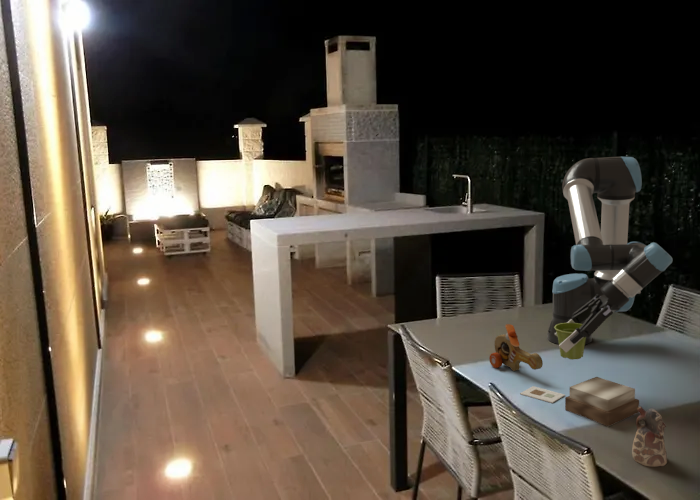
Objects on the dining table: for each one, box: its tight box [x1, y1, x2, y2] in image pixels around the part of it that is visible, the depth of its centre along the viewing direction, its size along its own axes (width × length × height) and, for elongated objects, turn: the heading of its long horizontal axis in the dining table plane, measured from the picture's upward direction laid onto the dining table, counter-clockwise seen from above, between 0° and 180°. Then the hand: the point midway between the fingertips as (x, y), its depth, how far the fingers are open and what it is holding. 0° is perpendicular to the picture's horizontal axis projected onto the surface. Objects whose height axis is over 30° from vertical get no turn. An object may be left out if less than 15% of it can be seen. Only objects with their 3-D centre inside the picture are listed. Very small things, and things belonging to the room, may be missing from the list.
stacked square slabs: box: [564, 376, 640, 427], centre depth 169 cm, size 13×13×6 cm
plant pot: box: [554, 323, 586, 360], centre depth 183 cm, size 9×9×9 cm
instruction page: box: [520, 385, 566, 404], centre depth 182 cm, size 10×7×1 cm
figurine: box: [631, 406, 668, 468], centre depth 143 cm, size 7×7×12 cm
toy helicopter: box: [488, 323, 544, 372], centre depth 199 cm, size 8×21×14 cm, turn 25°
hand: (560, 342), depth 184 cm, fingers closed on plant pot, 9 cm apart
